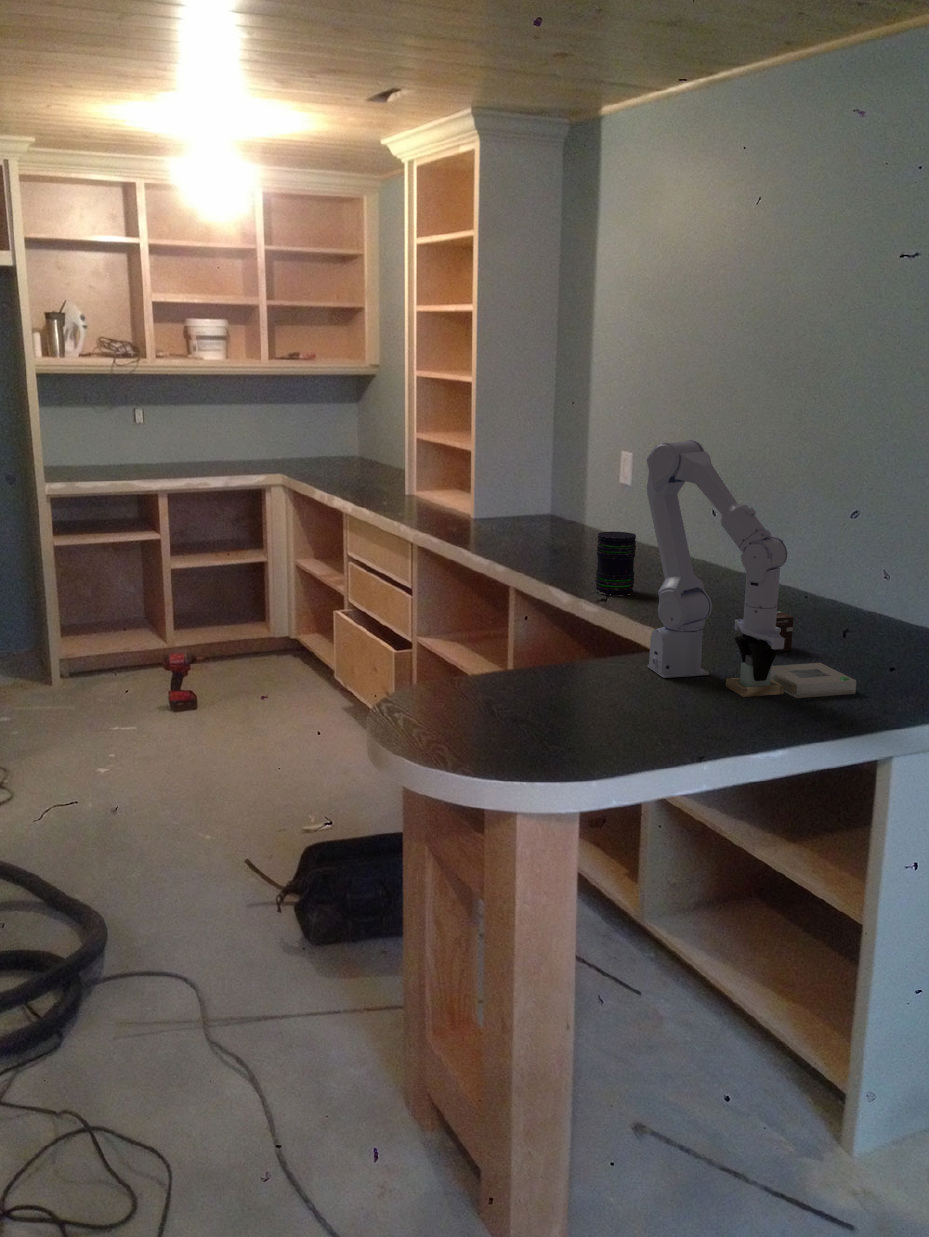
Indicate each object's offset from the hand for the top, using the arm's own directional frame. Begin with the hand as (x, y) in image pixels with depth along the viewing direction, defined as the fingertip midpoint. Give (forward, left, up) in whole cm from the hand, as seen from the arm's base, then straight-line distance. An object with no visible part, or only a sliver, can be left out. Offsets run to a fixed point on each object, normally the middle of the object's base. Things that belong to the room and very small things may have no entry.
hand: (755, 677), depth 202 cm
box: (+18, +26, -3) cm, 32 cm away
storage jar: (+6, +84, -3) cm, 84 cm away
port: (+11, 0, -2) cm, 11 cm away
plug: (0, 0, -2) cm, 2 cm away
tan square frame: (0, 0, -2) cm, 2 cm away
